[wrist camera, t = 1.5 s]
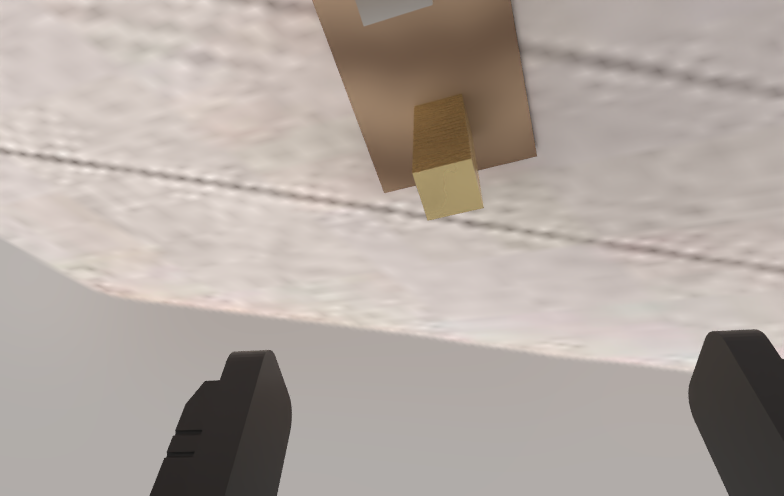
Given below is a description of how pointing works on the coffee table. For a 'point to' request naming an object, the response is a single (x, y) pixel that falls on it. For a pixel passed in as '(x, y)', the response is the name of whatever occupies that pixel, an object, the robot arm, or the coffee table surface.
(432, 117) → the brass post
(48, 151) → the coffee table surface
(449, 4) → the board
